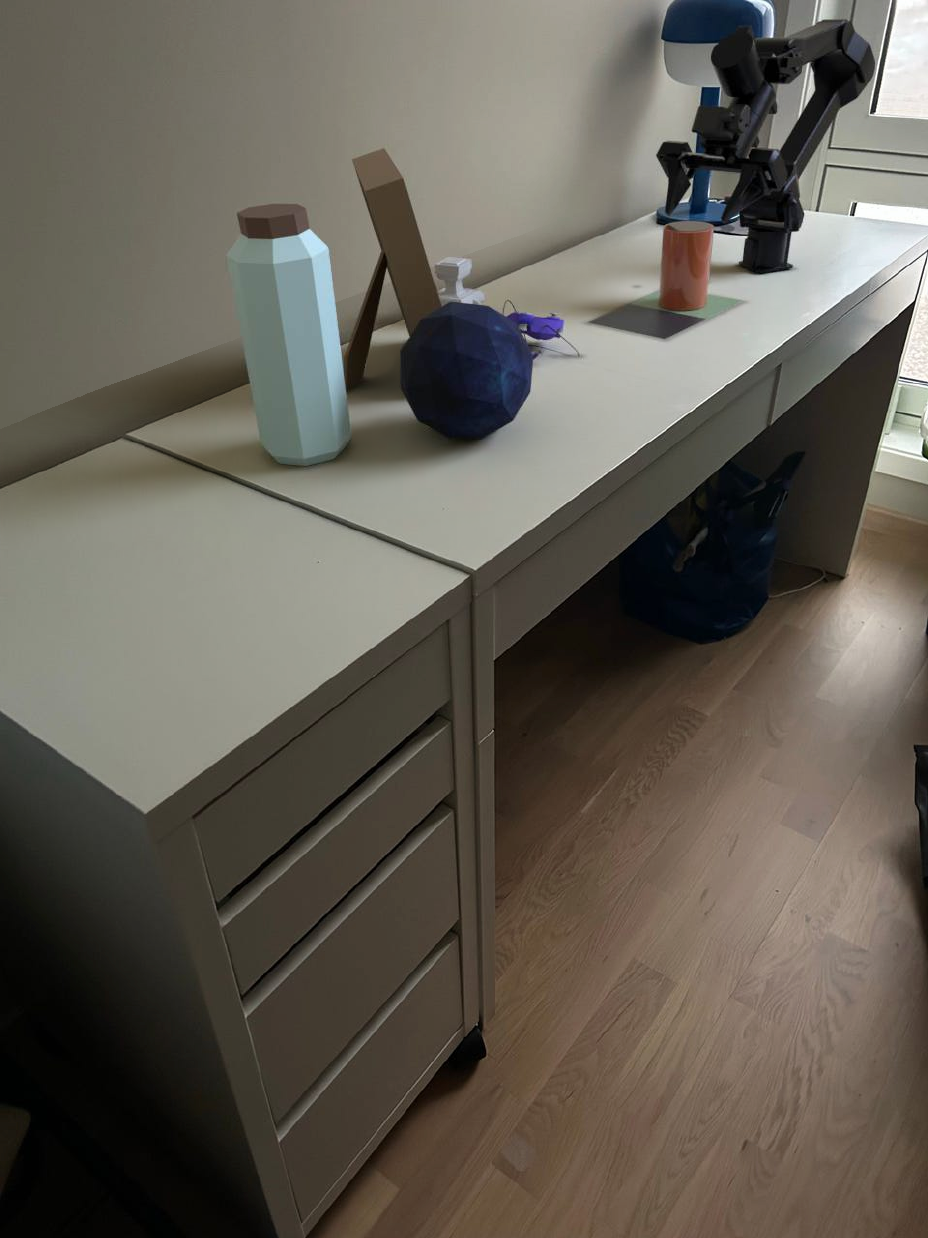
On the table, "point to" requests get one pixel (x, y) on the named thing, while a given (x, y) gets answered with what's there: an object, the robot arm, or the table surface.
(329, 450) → the water bottle
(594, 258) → the table surface
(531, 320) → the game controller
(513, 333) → the decorative orb
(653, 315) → the desk mat
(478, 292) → the stamp
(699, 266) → the tumbler
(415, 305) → the photo frame
